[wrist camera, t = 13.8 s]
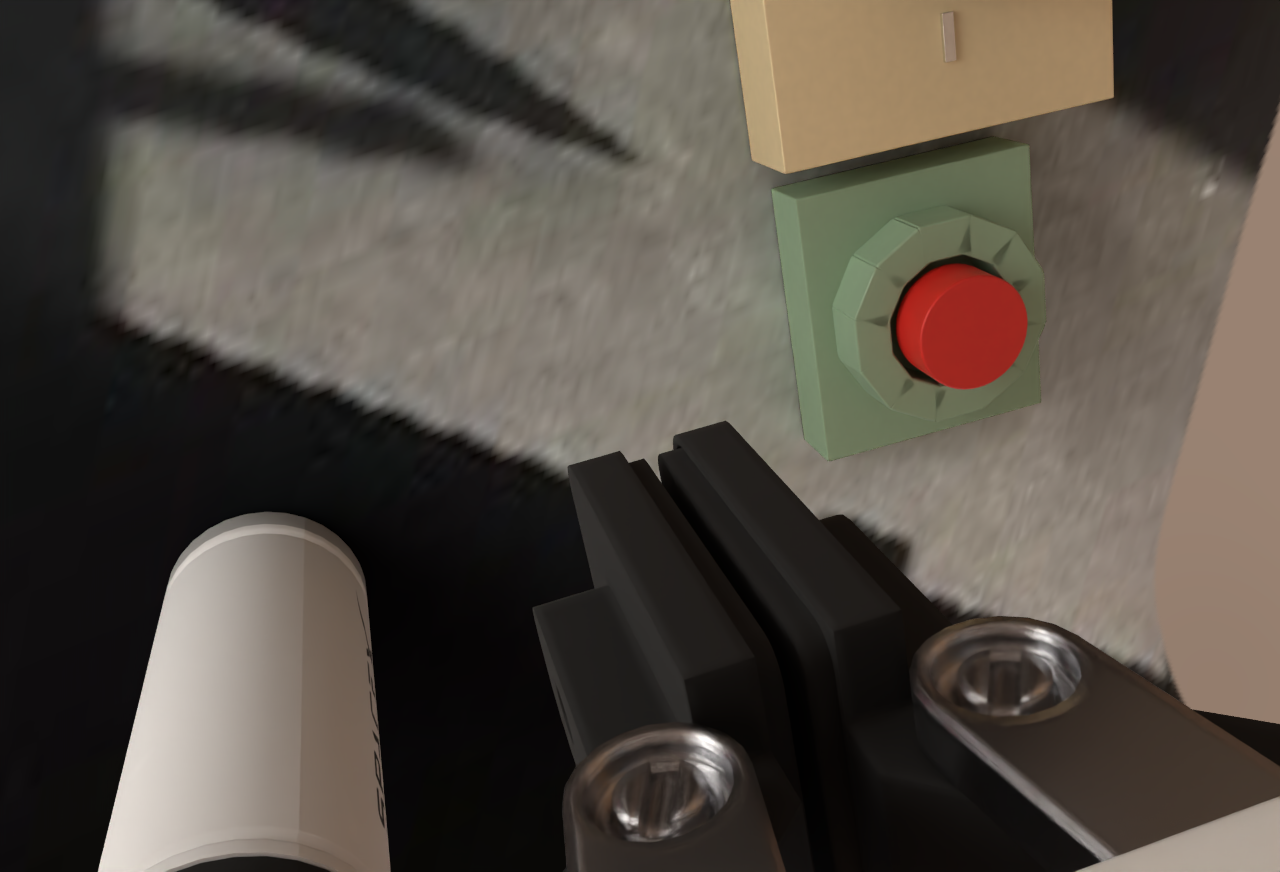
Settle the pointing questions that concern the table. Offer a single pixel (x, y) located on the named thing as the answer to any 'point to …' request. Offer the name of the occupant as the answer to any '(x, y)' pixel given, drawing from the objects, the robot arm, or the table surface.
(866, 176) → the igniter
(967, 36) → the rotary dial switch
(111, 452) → the table surface
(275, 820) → the travel mug
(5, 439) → the table surface
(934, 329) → the button
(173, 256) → the table surface
